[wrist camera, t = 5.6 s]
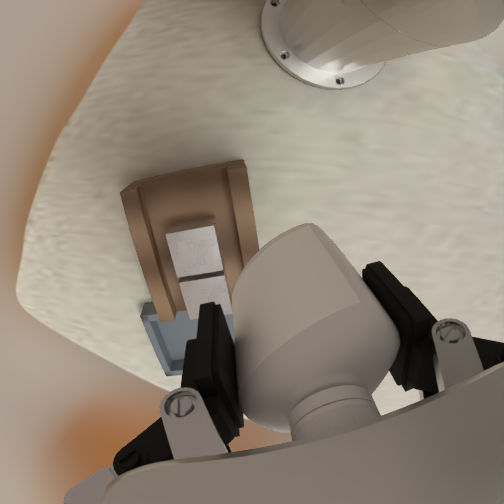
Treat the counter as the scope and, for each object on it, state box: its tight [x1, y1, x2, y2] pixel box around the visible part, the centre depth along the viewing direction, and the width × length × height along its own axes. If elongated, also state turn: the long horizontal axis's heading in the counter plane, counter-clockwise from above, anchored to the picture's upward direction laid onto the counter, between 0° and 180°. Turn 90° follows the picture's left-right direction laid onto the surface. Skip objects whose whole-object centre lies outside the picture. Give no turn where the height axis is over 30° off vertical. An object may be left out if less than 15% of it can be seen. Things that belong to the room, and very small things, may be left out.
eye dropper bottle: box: [232, 223, 400, 441], centre depth 10 cm, size 4×6×12 cm
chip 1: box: [166, 216, 223, 278], centre depth 26 cm, size 4×4×2 cm
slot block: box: [120, 160, 259, 322], centre depth 28 cm, size 13×10×4 cm
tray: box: [140, 302, 234, 376], centre depth 34 cm, size 9×16×2 cm, turn 99°
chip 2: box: [179, 263, 233, 320], centre depth 28 cm, size 4×4×2 cm
